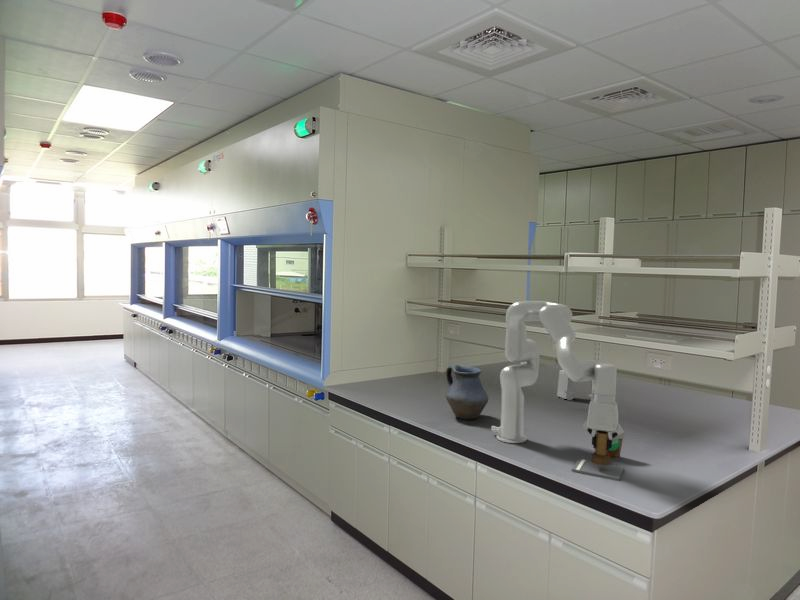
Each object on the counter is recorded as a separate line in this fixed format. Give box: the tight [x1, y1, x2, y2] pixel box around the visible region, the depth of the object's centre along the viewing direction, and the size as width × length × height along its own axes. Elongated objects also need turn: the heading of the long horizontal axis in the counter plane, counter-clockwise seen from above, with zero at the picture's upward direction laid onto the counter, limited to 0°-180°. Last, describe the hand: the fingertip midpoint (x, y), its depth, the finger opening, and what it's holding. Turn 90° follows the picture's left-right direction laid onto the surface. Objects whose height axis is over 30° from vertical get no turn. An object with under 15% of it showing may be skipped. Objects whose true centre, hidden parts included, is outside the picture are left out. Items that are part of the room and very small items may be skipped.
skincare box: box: [556, 369, 577, 399], centre depth 305 cm, size 8×7×16 cm
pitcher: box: [445, 363, 489, 421], centre depth 262 cm, size 21×22×25 cm
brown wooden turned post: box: [591, 430, 612, 465], centre depth 194 cm, size 7×6×18 cm
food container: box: [594, 430, 626, 459], centre depth 211 cm, size 12×6×10 cm, turn 56°
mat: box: [571, 458, 625, 481], centre depth 196 cm, size 16×12×1 cm
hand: (601, 447), depth 195 cm, fingers closed on brown wooden turned post, 4 cm apart
